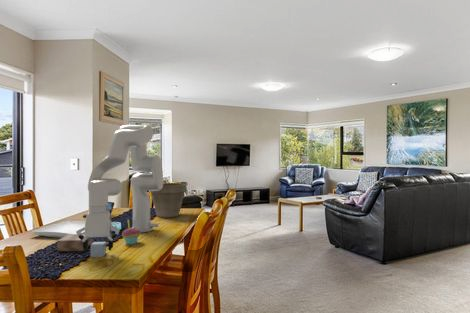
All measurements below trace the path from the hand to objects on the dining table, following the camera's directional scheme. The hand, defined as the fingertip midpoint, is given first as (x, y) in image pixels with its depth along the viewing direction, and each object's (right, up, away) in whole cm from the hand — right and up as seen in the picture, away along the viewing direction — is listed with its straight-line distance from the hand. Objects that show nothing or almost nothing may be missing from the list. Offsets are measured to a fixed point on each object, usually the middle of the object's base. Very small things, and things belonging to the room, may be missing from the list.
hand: (98, 250), depth 139 cm
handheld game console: (-34, -1, +82) cm, 88 cm away
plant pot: (+12, -1, +85) cm, 86 cm away
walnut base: (-15, -2, +11) cm, 19 cm away
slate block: (0, -2, 0) cm, 2 cm away
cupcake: (+8, -2, +19) cm, 21 cm away
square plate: (-30, -2, +38) cm, 48 cm away
